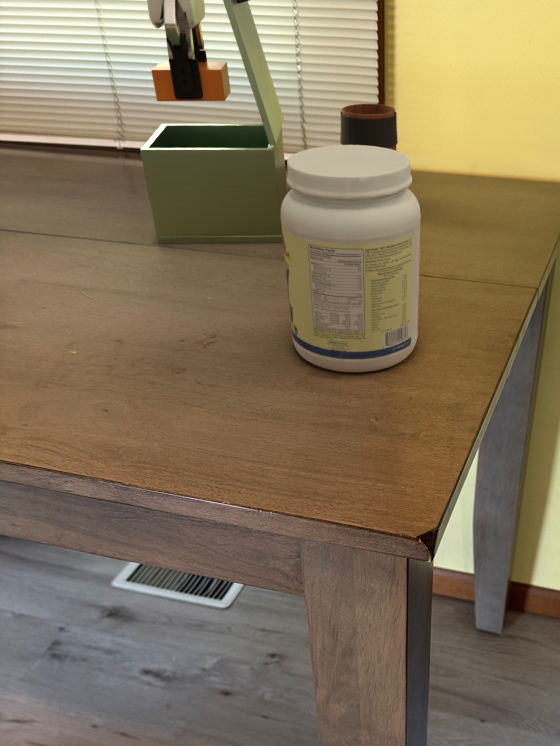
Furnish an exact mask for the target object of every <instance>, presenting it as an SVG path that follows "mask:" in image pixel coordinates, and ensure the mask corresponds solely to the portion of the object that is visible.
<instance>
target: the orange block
mask: <svg viewBox="0 0 560 746" xmlns="http://www.w3.org/2000/svg"><path fill="white" fill-rule="evenodd" d="M198 64H199V71H200V78H201V85H202V92H203V97H202V98H201V99H184V100H179V99H176V98H175V95H174V89H173V83H172V77H171V71H170V65H169V61H161V62H159V63H157V65H156V66H154V67H153V68H151V71H150V72H151V76H152V83H153V87H154V93H155V98H156V102H225V101H227V99H228V97H229V96H230V94H231V93H232V92H231V83H230V76H229V69H228V68H229V67H228V61H207V62H198Z"/></svg>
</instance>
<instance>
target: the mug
mask: <svg viewBox="0 0 560 746" xmlns="http://www.w3.org/2000/svg"><path fill="white" fill-rule="evenodd" d="M397 117H398V116H397V112H396V109H395V108H394V107H393V106H390V105H385V104H379V103H357V104H350V105H349V104H348V105H346V106H343V107H342V108H341V111H340V140H339V141H340V143H339V144H340V145H366V146H376V147H382V148H387V149H392V150H395V151H397V145H398V143H399V142H398V126H397V125H398V124H397V123H398V121H397Z"/></svg>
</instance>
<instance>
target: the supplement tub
mask: <svg viewBox="0 0 560 746" xmlns="http://www.w3.org/2000/svg"><path fill="white" fill-rule="evenodd" d="M286 166H287V169H286V170H287V175H286V183H287V186H288V187H289V188H290V190H289V191H287V195H286V196H285V198H284V200H283V202H282V206H281V223H282V233H283V240H282V244H283V253H284V264H285V273H286V284H287V285H286V286H287V295H288V303H289V304H288V307H289V318H290V326H291V327H290V328H291V340H292V343H293V345H294V348H295V350H296V352H298V354H299V355H300V356H301V358H303V359H304V360H305V361H307V362H309V363H311V364H313V365H314V366H317V367H320V368H322V369H326V370H330V371H335V372H342V373H368V372H374V371H380V370H384V369H387V368H390V367H393V366H395V365H397V364H399V363H401V362H402V361H404V360H405V359H406V358H408V357H409V355H411V353H412V352H413V350H414V348H415V347H416V345H417V341H418V336H419V300H420V299H419V296H420V295H419V294H420V256H421V252H420V251H421V219H422V214H421V206H420V203H419V201H418V198H417V197H416V195H415V194H414V192H413V191H411V189H409V187H410V186H411V185H412V183H413V176H412V174H411V159H410V157H409V156H408V155H407V154H406V153H403V152H400V151H398V150H396V151H395V150H392V149H387V148H382V147H376V146H366V145H342V144H335V145H324V146H317V147H311V148H307V149H303V150H300V151H298V152H295V153H293V154H292V155H290V156H289V157H288V158H287V161H286Z"/></svg>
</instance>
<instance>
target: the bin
mask: <svg viewBox="0 0 560 746" xmlns="http://www.w3.org/2000/svg"><path fill="white" fill-rule="evenodd" d="M139 151H140V157H141V162H142V167H143V173H144V177H145V182H146V188H147V193H148V199H149V202H150V208H151V213H152V218H153V224H154V228H155V229H154V230H155V233H156V239H157V243H158V244H219V243H220V244H222V243H223V244H228V243H229V244H234V243H236V244H238V243H242V244H243V243H248V244H249V243H250V244H251V243H283V233H282V223H281V206H282V202H283V200H284V198H285V196H286V195H287V193H288V184H287V172H286V171H287V170H286V162H285V150H284V138H283V126H282V127H281V130H280V133H279V136H278V140H277V143H276V144H275V145H272V146H270V144H269V141H268V138H267V135H266V132H265V129H264V126H263V123H161V124H160V125H159V127H158V128H157V129H156V130H155V132H154V133H153V134H152V135H151V136H150V137H149V139H148V140H146V142H145V143H144V144H143V145H142V147H141V148H140V149H139Z"/></svg>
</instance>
